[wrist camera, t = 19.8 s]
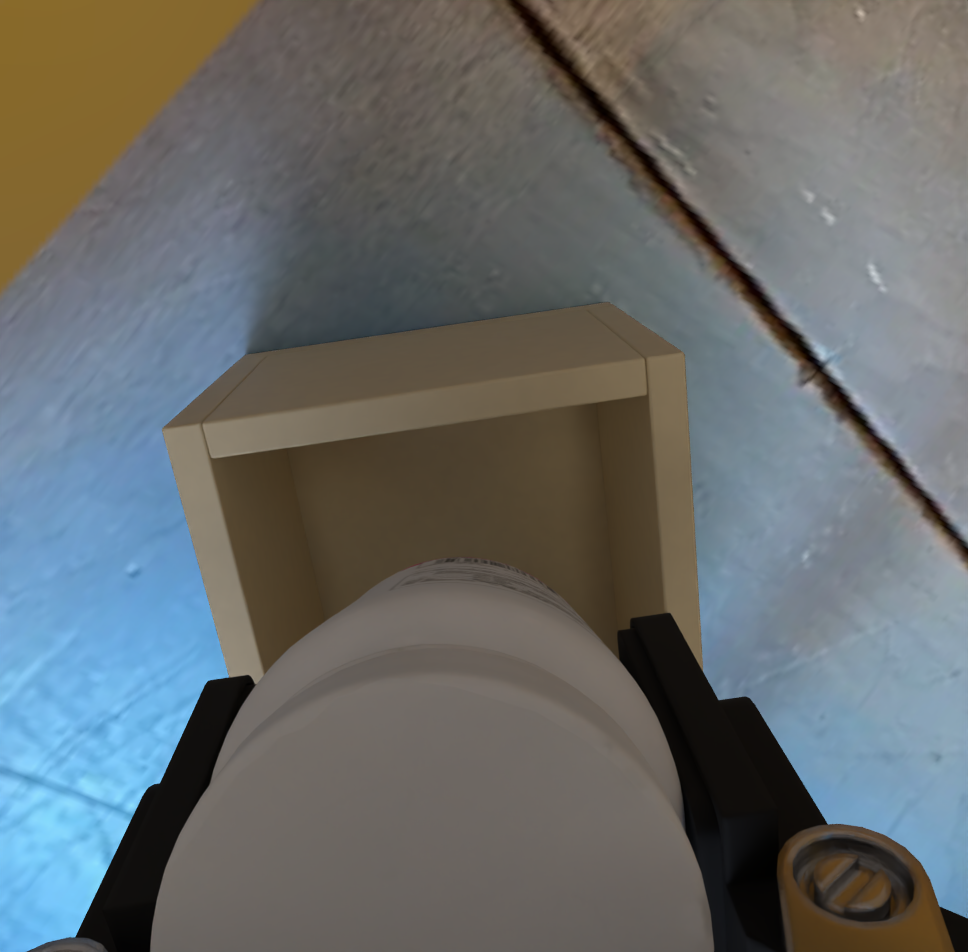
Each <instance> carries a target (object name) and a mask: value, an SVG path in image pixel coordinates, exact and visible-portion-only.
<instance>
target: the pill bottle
mask: <svg viewBox="0 0 968 952" xmlns="http://www.w3.org/2000/svg"><path fill="white" fill-rule="evenodd" d="M150 952H714V941H713V932H712V922H711V913H710V908H709V904H708V900H707V895H706V891H705V886H704V882H703V878H702V873H701V870H700V868H699V865H698V862H697V860H696V857H695V854H694V852H693V849H692V846H691V844H690V842H689V840H688V837H687V835H686V824H685V812H684V803H683V796H682V790H681V785H680V781H679V777H678V773H677V769H676V766H675V762H674V759H673V757H672V754H671V751H670V748H669V745H668V743H667V740H666V737H665V735H664V732H663V730H662V728H661V725H660V723H659V720H658V718H657V716H656V714H655V712H654V711H653V709H652V707H651V705H650V703H649V702H648V700H647V698H646V697H645V695H644V693H643V692H642V690H641V689H640V687H639V686H638V684H637V683H636V681H635V680H634V679H633V677H632V676H631V675H630V673H629V672H628V671H627V670H626V668H625V667H624V666H623V664H622V663H621V662H620V661H619V660H618V659H617V657H616V656H615V655H614V654H613V653H612V651H611V650H610V649H609V648H608V647H607V646H606V645H605V644H604V643H603V642H602V640H601V639H600V638H599V637H598V636H597V635H596V634H595V632H594V631H593V630H592V629H591V628H590V627H589V626H588V624H587V623H586V622H585V621H584V620H583V619H582V618H581V617H580V616H579V615H578V614H577V613H576V612H575V610H574V609H573V608H572V607H571V606H570V605H569V604H568V602H567V601H565V600H564V599H563V598H562V597H561V596H560V595H559V594H557V593H556V592H555V591H554V590H553V589H551V588H550V587H548V586H547V585H546V584H544V583H543V582H542V581H540V580H539V579H537V578H535V577H534V576H532V575H530V574H528V573H526V572H524V571H522V570H520V569H517V568H515V567H512V566H510V565H507V564H504V563H500V562H497V561H492V560H487V559H481V558H472V557H450V558H441V559H435V560H430V561H426V562H422V563H419V564H416V565H413V566H411V567H408V568H406V569H404V570H402V571H399V572H397V573H396V574H394V575H392V576H390V577H388V578H386V579H385V580H383V581H381V582H380V583H379V584H377V585H376V586H374V587H373V588H371V589H370V590H368V591H367V592H366V593H365V594H363V595H362V596H361V597H360V598H359V599H358V600H356V601H355V602H354V603H352V604H351V605H349V606H348V607H346V608H345V609H343V610H342V611H340V612H339V613H337V614H335V615H334V616H332V617H331V618H329V619H328V620H326V621H325V622H324V623H322V624H321V625H319V626H318V627H317V628H315V629H314V630H312V631H311V632H309V633H308V634H307V635H305V636H304V637H303V638H301V639H300V640H299V641H298V642H296V643H295V644H294V645H293V646H291V647H290V648H289V649H288V650H287V651H286V652H285V653H284V654H283V655H282V656H281V657H280V658H279V659H278V660H277V661H276V662H275V663H274V664H273V665H272V666H271V667H270V669H269V670H268V671H267V672H266V673H265V675H264V676H263V677H262V678H261V680H260V681H259V682H258V683H257V684H256V686H255V687H254V688H253V690H252V691H251V693H250V694H249V696H248V697H247V699H246V700H245V702H244V703H243V705H242V706H241V708H240V710H239V712H238V714H237V716H236V718H235V720H234V721H233V723H232V725H231V727H230V729H229V731H228V733H227V735H226V738H225V740H224V743H223V746H222V748H221V751H220V753H219V756H218V759H217V761H216V764H215V767H214V770H213V774H212V778H211V782H210V785H209V787H208V788H207V789H206V791H205V792H204V793H203V795H202V796H201V798H200V800H199V801H198V803H197V804H196V806H195V808H194V809H193V811H192V813H191V814H190V816H189V818H188V820H187V821H186V823H185V825H184V827H183V829H182V830H181V832H180V834H179V836H178V839H177V841H176V843H175V846H174V848H173V851H172V853H171V856H170V858H169V860H168V863H167V865H166V868H165V871H164V875H163V878H162V882H161V886H160V890H159V894H158V897H157V902H156V908H155V913H154V919H153V924H152V934H151V945H150Z"/></svg>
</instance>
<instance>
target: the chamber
mask: <svg viewBox="0 0 968 952" xmlns="http://www.w3.org/2000/svg"><path fill="white" fill-rule="evenodd" d="M162 432H163V435H164V439H165V443H166V446H167V450H168V454H169V457H170V461H171V465H172V468H173V472H174V476H175V480H176V483H177V487H178V491H179V494H180V498H181V502H182V505H183V509H184V513H185V516H186V520H187V524H188V527H189V531H190V535H191V538H192V542H193V546H194V549H195V553H196V557H197V560H198V564H199V568H200V572H201V575H202V579H203V583H204V586H205V590H206V594H207V597H208V601H209V605H210V608H211V612H212V616H213V619H214V623H215V627H216V630H217V634H218V638H219V641H220V645H221V649H222V652H223V656H224V660H225V664H226V667H227V671H228V675H229V678H230V677H236V676H243V675H250V676H251V677H252V679H253V681H254V683H255V684H257V683H258V682H259V681H260V680H261V678H262V677H263V676H264V675H265V673H266V672H267V671H268V670H269V669H270V667H271V666H272V665H273V664H274V663H275V662H276V661H277V660H278V659H279V658H280V657H281V656H282V655H283V654H284V653H285V652H286V651H287V650H288V649H289V648H290V647H291V646H293V645H294V644H295V643H296V642H298V641H299V640H300V639H301V638H303V637H304V636H305V635H307V634H308V633H309V632H311V631H312V630H314V629H315V628H317V627H318V626H319V625H321V624H322V623H324V622H325V621H326V620H328V619H329V618H331V617H332V616H334V615H335V614H337V613H339V612H340V611H342V610H343V609H345V608H346V607H348V606H349V605H351V604H352V603H354V602H355V601H356V600H358V599H359V598H360V597H361V596H362V595H363V594H365V593H366V592H367V591H368V590H370V589H371V588H373V587H374V586H376V585H377V584H379V583H380V582H381V581H383V580H385V579H386V578H388V577H390V576H392V575H394V574H396V573H397V572H399V571H402V570H404V569H406V568H408V567H411V566H413V565H416V564H419V563H422V562H426V561H430V560H435V559H441V558H450V557H472V558H481V559H487V560H492V561H497V562H500V563H504V564H507V565H510V566H512V567H515V568H517V569H520V570H522V571H524V572H526V573H528V574H530V575H532V576H534V577H535V578H537V579H539V580H540V581H542V582H543V583H544V584H546V585H547V586H548V587H550V588H551V589H553V590H554V591H555V592H556V593H557V594H559V595H560V596H561V597H562V598H563V599H564V600H565V601H567V602H568V604H569V605H570V606H571V607H572V608H573V609H574V610H575V612H576V613H577V614H578V615H579V616H580V617H581V618H582V619H583V620H584V621H585V622H586V623H587V624H588V626H589V627H590V628H591V629H592V630H593V631H594V632H595V634H596V635H597V636H598V637H599V638H600V639H601V640H602V642H603V643H604V644H605V645H606V646H607V647H608V648H609V649H610V650H611V651H612V653H613V654H614V655H615V656H616V657H617V659H618V660H619V651H618V640H617V632H618V630H624V629H630V619H631V618H635V617H642V616H649V615H656V614H662V613H671V615H672V616H673V618H674V620H675V621H676V623H677V625H678V627H679V629H680V631H681V632H682V634H683V636H684V638H685V640H686V642H687V643H688V645H689V647H690V649H691V651H692V653H693V654H694V656H695V658H696V660H697V662H698V664H699V665H700V667H701V669H702V671H703V661H702V644H701V626H700V609H699V592H698V575H697V558H696V541H695V524H694V507H693V490H692V473H691V455H690V438H689V421H688V404H687V387H686V370H685V355H684V353H683V352H682V351H681V350H679V349H678V348H676V347H675V346H673V345H672V344H670V343H669V342H667V341H666V340H664V339H663V338H661V337H660V336H658V335H657V334H655V333H654V332H652V331H651V330H650V329H648V328H647V327H645V326H644V325H642V324H641V323H639V322H638V321H636V320H635V319H633V318H632V317H630V316H629V315H627V314H626V313H624V312H623V311H622V310H620V309H619V308H617V307H616V306H614V305H613V304H611V303H610V302H605V303H598V304H591V305H584V306H577V307H570V308H563V309H557V310H550V311H543V312H536V313H529V314H522V315H515V316H508V317H502V318H495V319H488V320H481V321H474V322H467V323H460V324H453V325H446V326H440V327H433V328H426V329H419V330H412V331H405V332H398V333H391V334H385V335H378V336H371V337H364V338H357V339H350V340H343V341H336V342H329V343H323V344H316V345H309V346H302V347H295V348H288V349H281V350H274V351H267V352H261V353H254V354H247V355H244V356H243V357H242V358H241V359H240V360H239V361H237V362H236V363H235V364H234V365H233V366H232V367H230V368H229V369H228V370H227V371H226V372H225V373H224V374H223V375H222V376H220V377H219V378H218V379H217V380H216V381H215V382H214V383H213V384H211V385H210V386H209V387H208V388H207V389H206V390H205V391H204V392H203V393H201V394H200V395H199V396H198V397H197V398H196V399H195V400H194V401H192V402H191V403H190V404H189V405H188V406H187V407H186V408H185V409H183V410H182V411H181V412H180V413H179V414H178V415H177V416H176V417H175V418H173V419H172V420H171V421H170V422H169V423H168V424H167V425H166V426H164V427H163V428H162Z"/></svg>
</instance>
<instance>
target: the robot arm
mask: <svg viewBox="0 0 968 952" xmlns="http://www.w3.org/2000/svg"><path fill="white" fill-rule="evenodd" d="M617 640H618V651H619V661H620V662H621V663H622V664H623V666H624V667H625V668H626V670H627V671H628V672H629V673H630V675H631V676H632V677H633V679H634V680H635V681H636V683H637V684H638V686H639V687H640V689H641V690H642V692H643V693H644V695H645V697H646V698H647V700H648V702H649V703H650V705H651V707H652V709H653V711H654V712H655V714H656V716H657V718H658V720H659V723H660V725H661V728H662V730H663V732H664V735H665V737H666V740H667V743H668V745H669V748H670V751H671V754H672V757H673V759H674V762H675V766H676V769H677V773H678V777H679V781H680V785H681V790H682V796H683V803H684V812H685V824H686V835H687V837H688V840H689V842H690V844H691V846H692V849H693V852H694V854H695V857H696V860H697V862H698V865H699V868H700V870H701V873H702V878H703V882H704V886H705V891H706V895H707V900H708V904H709V908H710V913H711V922H712V932H713V941H714V952H968V918H965V917H963V916H960V915H958V914H956V913H953V912H951V911H949V910H946V909H944V908H942V907H939V905H938V902H937V899H936V896H935V893H934V890H933V887H932V884H931V881H930V879H929V877H928V875H927V874H926V872H925V870H924V868H923V866H922V865H921V863H920V862H919V861H918V860H917V859H916V858H915V857H914V856H913V855H912V854H911V853H910V852H909V851H908V850H907V849H906V848H905V847H903V846H902V845H900V844H899V843H897V842H895V841H894V840H892V839H890V838H889V837H887V836H885V835H883V834H880V833H877V832H874V831H872V830H869V829H866V828H863V827H858V826H851V825H844V824H830V825H828V824H827V822H826V821H825V819H824V817H823V816H822V814H821V812H820V811H819V809H818V807H817V806H816V804H815V803H814V801H813V799H812V798H811V796H810V794H809V793H808V791H807V789H806V788H805V786H804V785H803V783H802V781H801V780H800V778H799V776H798V775H797V773H796V771H795V770H794V768H793V767H792V765H791V763H790V762H789V760H788V758H787V757H786V755H785V753H784V752H783V750H782V748H781V747H780V745H779V744H778V742H777V740H776V739H775V737H774V735H773V734H772V732H771V730H770V729H769V727H768V726H767V724H766V722H765V721H764V719H763V717H762V716H761V714H760V712H759V711H758V709H757V708H756V706H755V704H754V703H753V702H752V701H751V699H750V698H748V697H739V698H732V699H725V700H718V698H717V697H716V695H715V693H714V691H713V689H712V687H711V686H710V684H709V682H708V680H707V678H706V676H705V675H704V673H703V671H702V669H701V667H700V665H699V664H698V662H697V660H696V658H695V656H694V654H693V653H692V651H691V649H690V647H689V645H688V643H687V642H686V640H685V638H684V636H683V634H682V632H681V631H680V629H679V627H678V625H677V623H676V621H675V620H674V618H673V616H672V615H671V613H662V614H656V615H649V616H642V617H635V618H631V619H630V629H624V630H618V632H617ZM255 686H256V684H255V683H254V681H253V679H252V677H251V676H250V675H243V676H236V677H230V678H223V679H216V680H210V681H208V682H207V683H206V685H205V686H204V689H203V691H202V693H201V695H200V697H199V699H198V702H197V704H196V706H195V708H194V710H193V713H192V715H191V717H190V719H189V721H188V723H187V726H186V728H185V730H184V732H183V734H182V737H181V739H180V741H179V743H178V745H177V747H176V750H175V752H174V754H173V756H172V758H171V761H170V763H169V765H168V767H167V769H166V772H165V774H164V776H163V778H162V780H161V782H160V784H154V785H152V786H150V787H149V788H148V789H147V790H146V792H145V793H144V795H143V796H142V799H141V801H140V803H139V805H138V807H137V809H136V811H135V813H134V815H133V817H132V819H131V822H130V824H129V826H128V828H127V830H126V832H125V834H124V836H123V838H122V840H121V843H120V845H119V847H118V849H117V851H116V853H115V855H114V857H113V859H112V861H111V864H110V866H109V868H108V870H107V872H106V874H105V876H104V878H103V880H102V882H101V885H100V887H99V889H98V891H97V893H96V895H95V897H94V899H93V901H92V903H91V905H90V908H89V910H88V912H87V914H86V916H85V918H84V920H83V922H82V924H81V926H80V929H79V931H78V933H77V935H76V937H75V938H71V937H69V938H65V939H60V940H56V941H52V942H47V943H45V944H43V945H41V946H38V947H36V948H34V949H32V950H29V951H27V952H150V945H151V934H152V924H153V919H154V913H155V908H156V902H157V897H158V894H159V890H160V886H161V882H162V878H163V875H164V871H165V868H166V865H167V863H168V860H169V858H170V856H171V853H172V851H173V848H174V846H175V843H176V841H177V839H178V836H179V834H180V832H181V830H182V829H183V827H184V825H185V823H186V821H187V820H188V818H189V816H190V814H191V813H192V811H193V809H194V808H195V806H196V804H197V803H198V801H199V800H200V798H201V796H202V795H203V793H204V792H205V791H206V789H207V788H208V787H209V785H210V782H211V778H212V774H213V770H214V767H215V764H216V761H217V759H218V756H219V753H220V751H221V748H222V746H223V743H224V740H225V738H226V735H227V733H228V731H229V729H230V727H231V725H232V723H233V721H234V720H235V718H236V716H237V714H238V712H239V710H240V708H241V706H242V705H243V703H244V702H245V700H246V699H247V697H248V696H249V694H250V693H251V691H252V690H253V688H254V687H255Z"/></svg>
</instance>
